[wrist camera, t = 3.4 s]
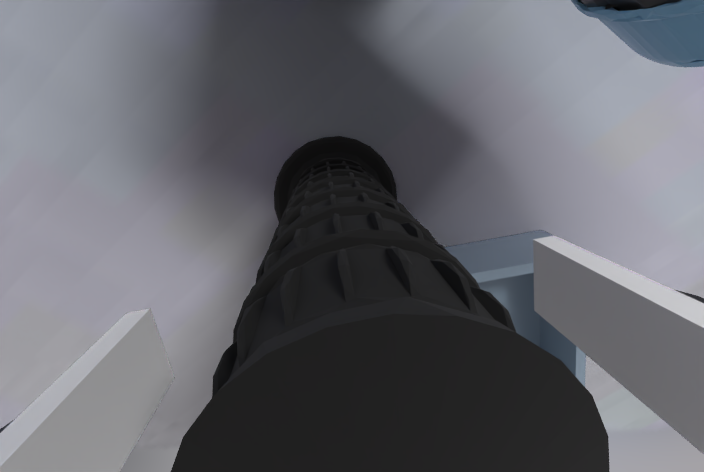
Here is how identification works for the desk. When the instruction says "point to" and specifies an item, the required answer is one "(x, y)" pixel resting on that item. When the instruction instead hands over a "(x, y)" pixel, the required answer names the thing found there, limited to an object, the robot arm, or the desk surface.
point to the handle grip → (380, 349)
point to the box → (518, 291)
